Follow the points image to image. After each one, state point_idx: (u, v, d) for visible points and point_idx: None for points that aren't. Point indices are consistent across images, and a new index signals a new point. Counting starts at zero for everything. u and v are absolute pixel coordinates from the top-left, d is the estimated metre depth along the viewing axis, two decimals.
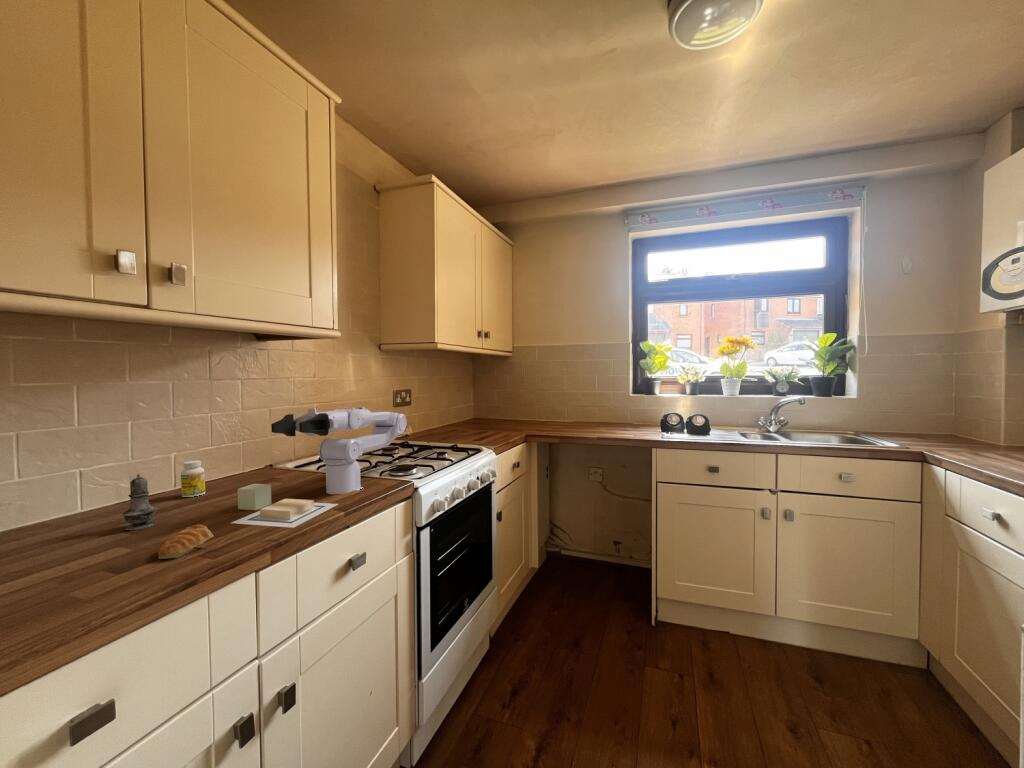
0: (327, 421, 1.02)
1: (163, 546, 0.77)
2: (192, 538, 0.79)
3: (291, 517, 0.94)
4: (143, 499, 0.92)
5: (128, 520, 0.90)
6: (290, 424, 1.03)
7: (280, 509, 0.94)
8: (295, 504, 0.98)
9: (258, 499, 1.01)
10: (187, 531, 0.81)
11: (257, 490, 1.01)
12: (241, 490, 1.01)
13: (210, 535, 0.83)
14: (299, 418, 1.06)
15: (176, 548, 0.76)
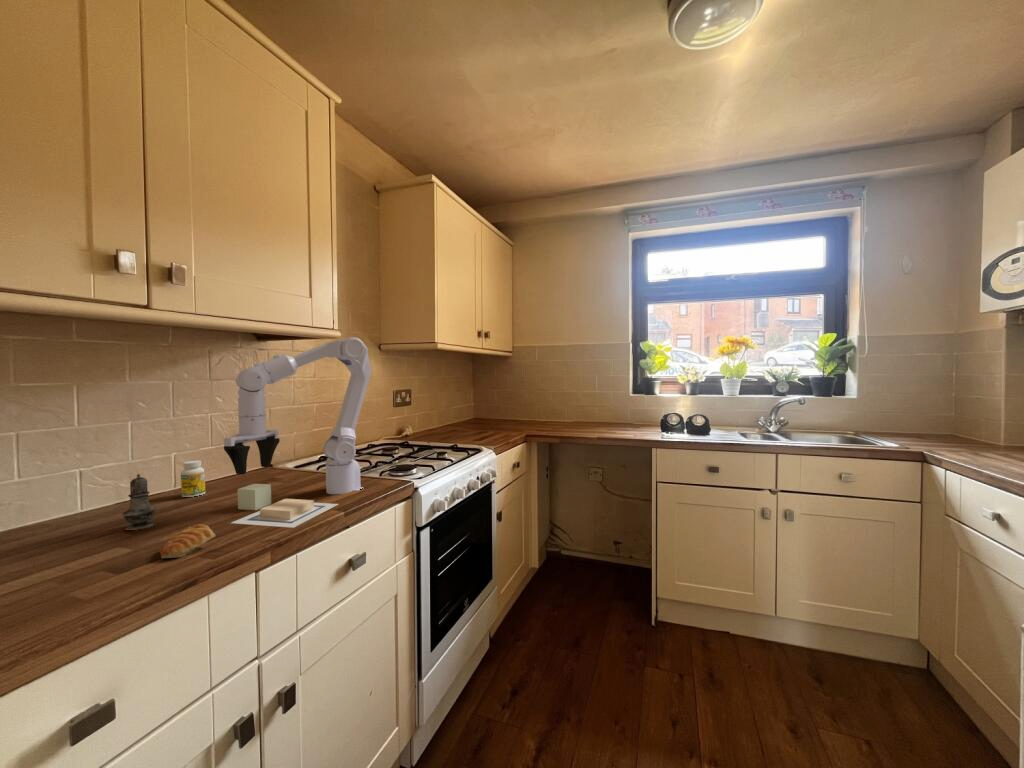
0: (229, 448, 0.97)
1: (165, 545, 0.77)
2: (194, 537, 0.80)
3: (291, 517, 0.94)
4: (143, 499, 0.92)
5: (128, 520, 0.90)
6: (263, 445, 1.07)
7: (280, 509, 0.94)
8: (295, 504, 0.98)
9: (258, 499, 1.01)
10: (189, 531, 0.81)
11: (257, 490, 1.01)
12: (241, 490, 1.01)
13: (212, 535, 0.84)
14: None
15: (178, 547, 0.77)
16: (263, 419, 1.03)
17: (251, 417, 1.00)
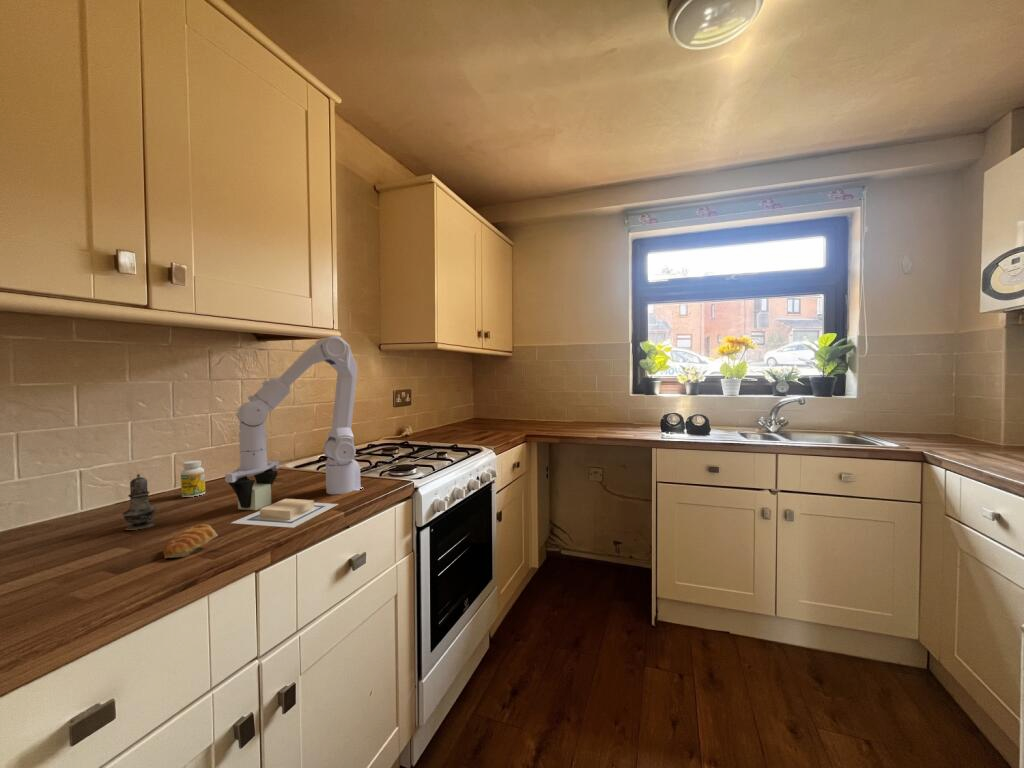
0: (234, 482, 0.98)
1: (169, 545, 0.77)
2: (197, 537, 0.80)
3: (291, 517, 0.94)
4: (143, 499, 0.92)
5: (128, 520, 0.90)
6: (261, 479, 1.06)
7: (280, 509, 0.94)
8: (295, 504, 0.98)
9: (258, 498, 1.01)
10: (192, 530, 0.81)
11: (257, 490, 1.01)
12: None
13: (214, 534, 0.84)
14: None
15: (182, 547, 0.77)
16: (264, 453, 1.03)
17: (252, 452, 1.00)
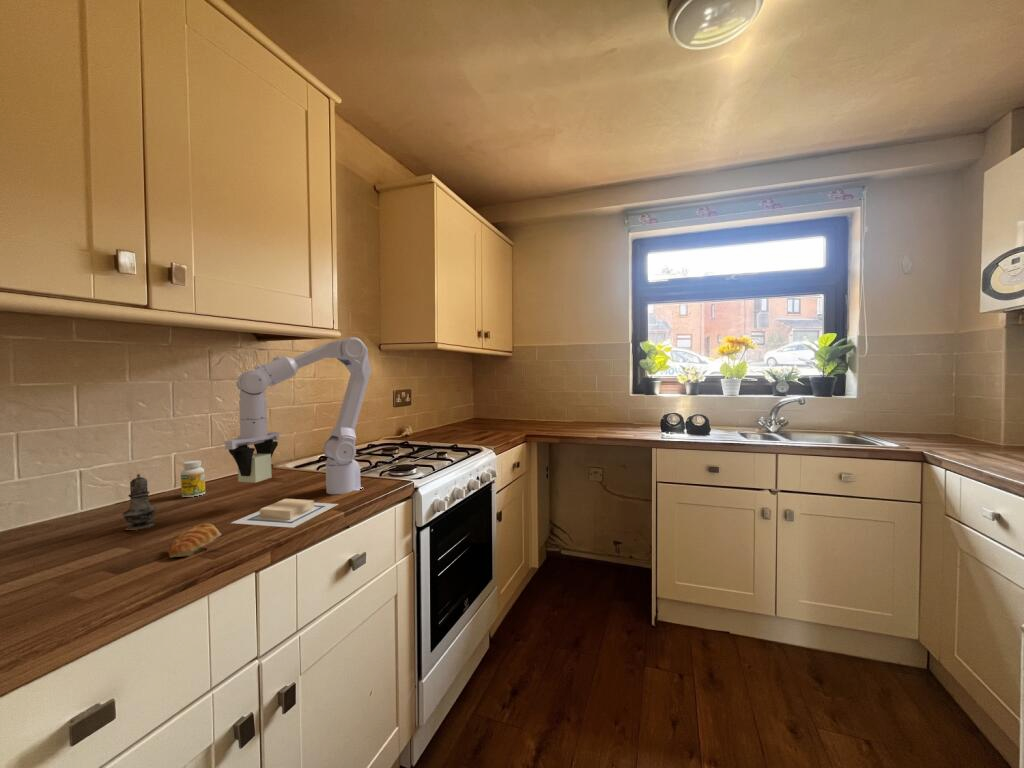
0: (234, 450, 0.98)
1: (174, 545, 0.77)
2: (202, 536, 0.80)
3: (291, 517, 0.94)
4: (143, 499, 0.92)
5: (128, 520, 0.90)
6: (261, 449, 1.05)
7: (280, 509, 0.94)
8: (295, 504, 0.98)
9: (258, 467, 1.01)
10: (196, 530, 0.81)
11: (257, 458, 1.01)
12: None
13: (218, 533, 0.84)
14: None
15: (187, 546, 0.77)
16: (264, 422, 1.02)
17: (252, 420, 1.00)
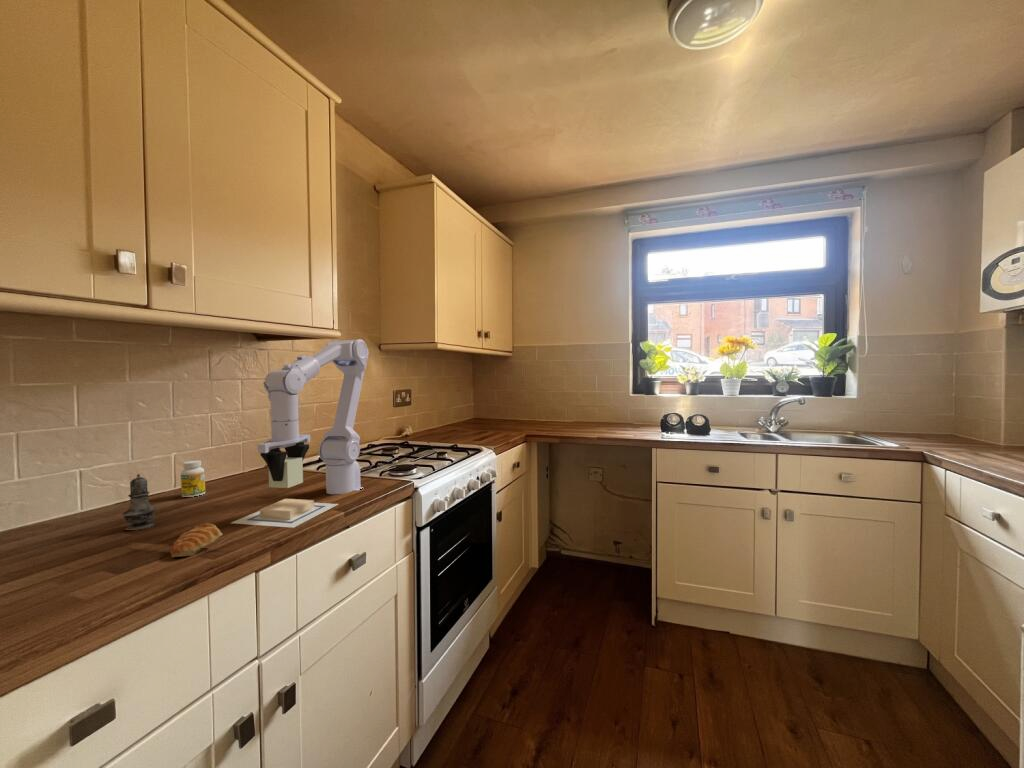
0: (266, 453, 0.93)
1: (175, 544, 0.77)
2: (204, 536, 0.80)
3: (291, 517, 0.94)
4: (143, 499, 0.92)
5: (128, 520, 0.90)
6: (293, 452, 1.00)
7: (280, 509, 0.94)
8: (295, 504, 0.98)
9: (290, 471, 0.96)
10: (197, 530, 0.82)
11: (289, 462, 0.95)
12: None
13: (219, 533, 0.84)
14: None
15: (189, 546, 0.77)
16: (296, 424, 0.97)
17: (285, 422, 0.95)
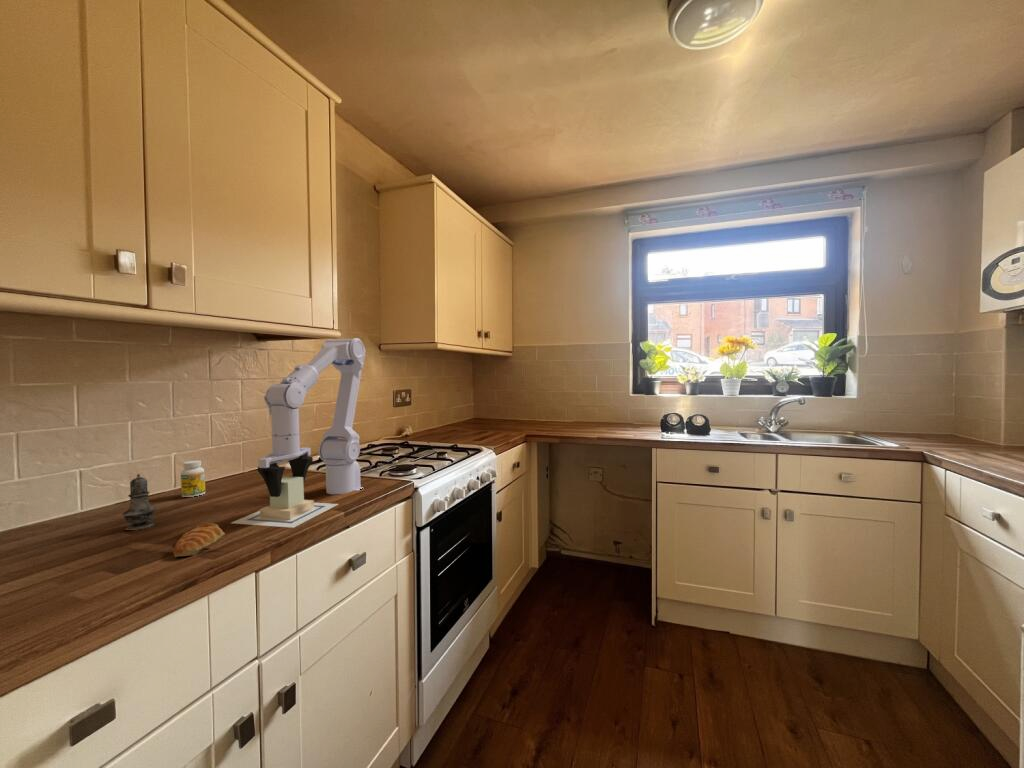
0: (263, 469, 0.92)
1: (178, 544, 0.78)
2: (206, 535, 0.80)
3: (291, 517, 0.94)
4: (143, 499, 0.92)
5: (128, 520, 0.90)
6: (296, 464, 1.01)
7: (280, 509, 0.94)
8: None
9: (291, 492, 0.96)
10: (200, 529, 0.82)
11: (290, 483, 0.95)
12: None
13: (222, 533, 0.85)
14: None
15: (192, 545, 0.77)
16: (297, 438, 0.97)
17: (285, 436, 0.95)
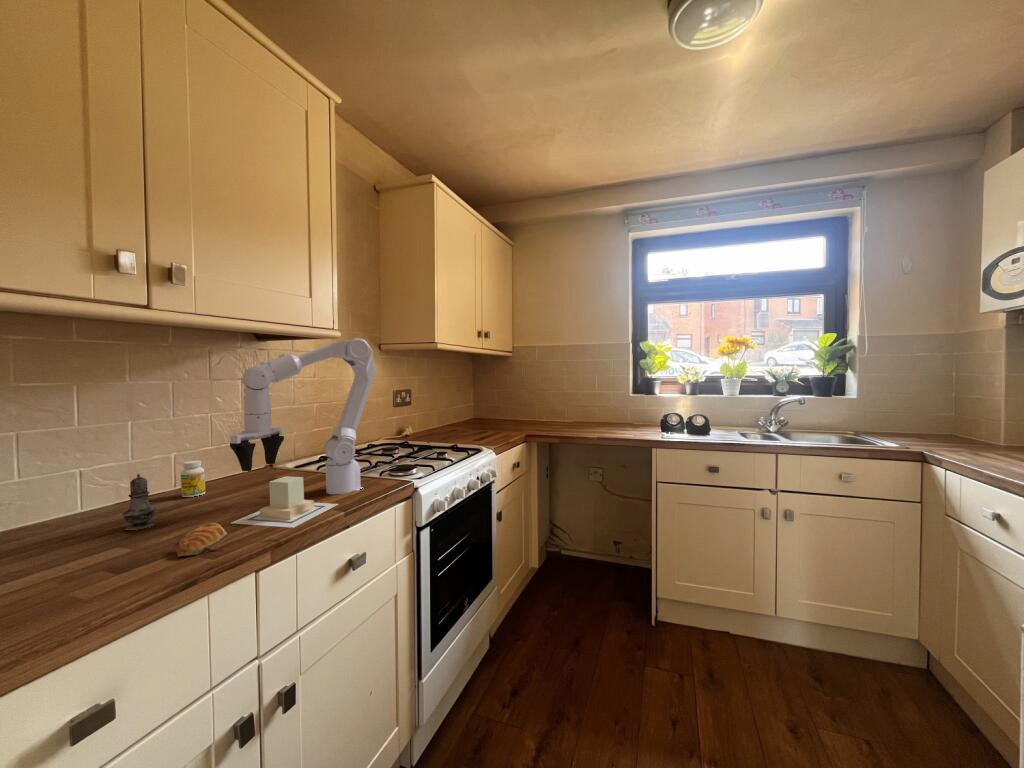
0: (235, 445, 0.99)
1: (182, 544, 0.78)
2: (209, 535, 0.81)
3: (291, 517, 0.94)
4: (143, 499, 0.92)
5: (128, 520, 0.90)
6: (268, 443, 1.08)
7: (280, 509, 0.94)
8: None
9: (291, 492, 0.96)
10: (203, 529, 0.82)
11: (290, 483, 0.95)
12: (273, 483, 0.96)
13: (224, 532, 0.85)
14: None
15: (196, 545, 0.78)
16: (268, 417, 1.04)
17: (256, 415, 1.02)
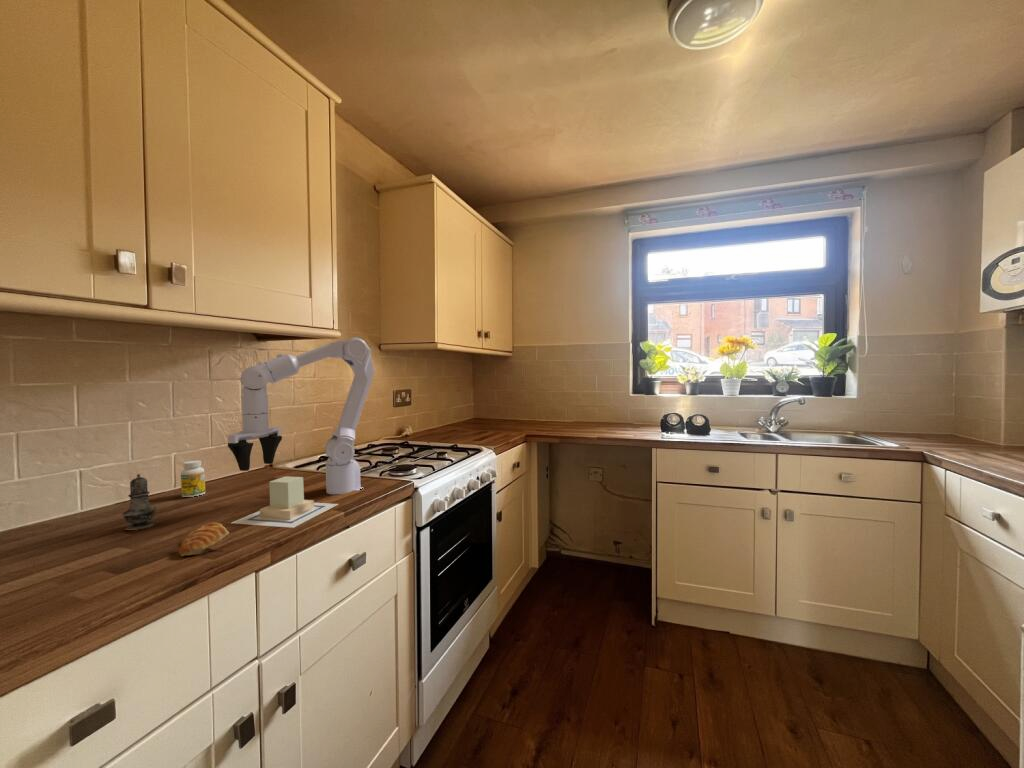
0: (233, 445, 0.99)
1: (184, 543, 0.78)
2: (212, 534, 0.81)
3: (291, 517, 0.94)
4: (143, 499, 0.92)
5: (128, 520, 0.90)
6: (266, 442, 1.09)
7: (280, 509, 0.94)
8: None
9: (291, 492, 0.96)
10: (205, 528, 0.82)
11: (290, 483, 0.95)
12: (273, 483, 0.96)
13: (226, 532, 0.85)
14: None
15: (199, 544, 0.78)
16: (266, 417, 1.05)
17: (254, 415, 1.02)
